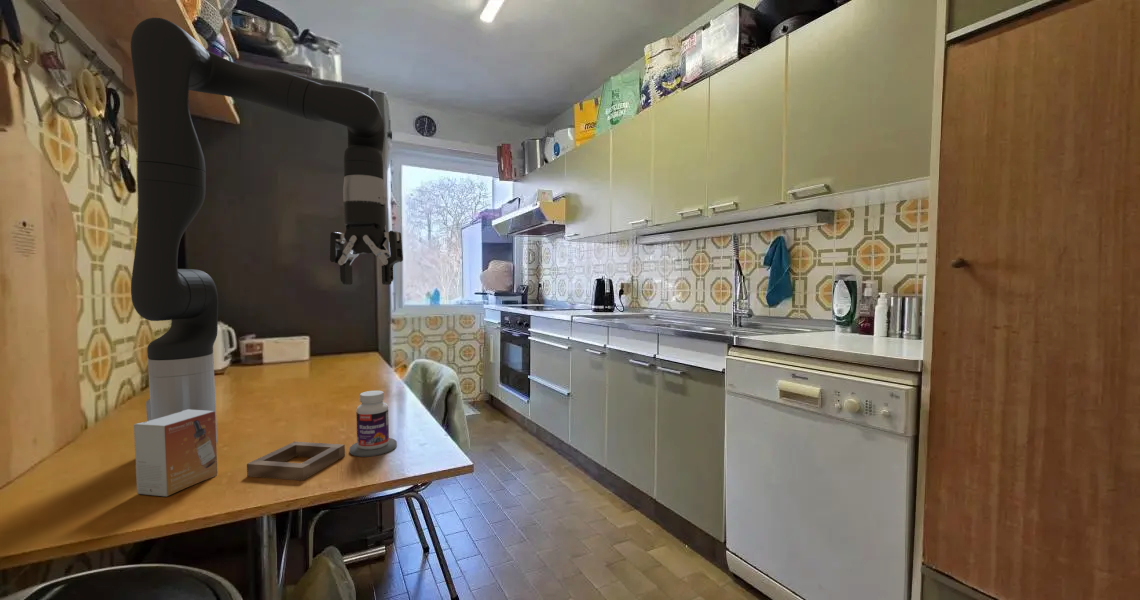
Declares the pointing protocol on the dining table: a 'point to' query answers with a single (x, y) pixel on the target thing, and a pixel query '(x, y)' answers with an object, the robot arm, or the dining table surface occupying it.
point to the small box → (175, 452)
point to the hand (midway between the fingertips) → (367, 284)
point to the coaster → (367, 453)
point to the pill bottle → (372, 421)
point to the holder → (280, 469)
